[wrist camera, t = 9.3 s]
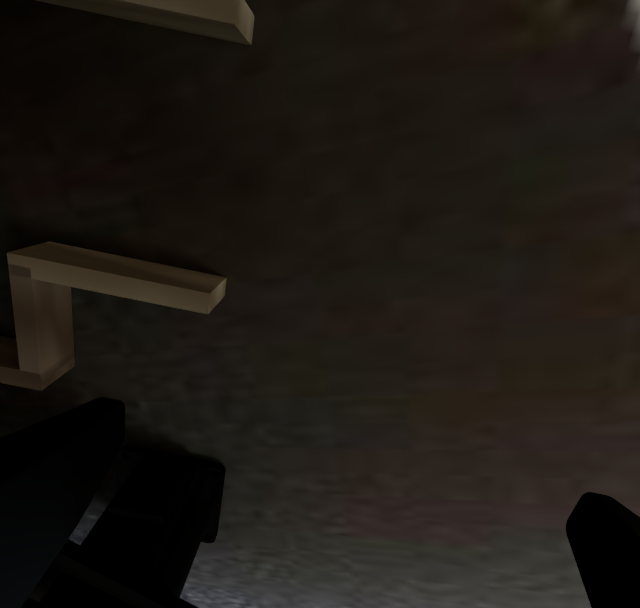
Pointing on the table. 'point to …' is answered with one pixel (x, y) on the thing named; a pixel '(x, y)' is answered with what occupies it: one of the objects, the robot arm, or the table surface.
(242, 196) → the table surface
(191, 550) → the robot arm
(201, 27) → the box
